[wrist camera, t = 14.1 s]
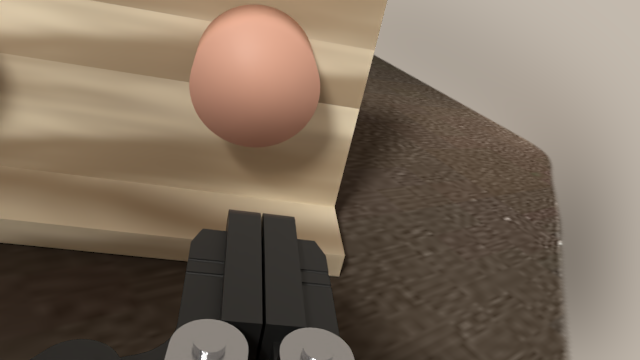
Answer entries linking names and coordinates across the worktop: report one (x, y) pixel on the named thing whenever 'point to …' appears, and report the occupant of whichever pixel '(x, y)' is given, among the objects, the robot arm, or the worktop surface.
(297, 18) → the knob panel
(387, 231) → the worktop surface
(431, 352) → the worktop surface
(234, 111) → the knob
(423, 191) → the worktop surface
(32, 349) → the worktop surface
